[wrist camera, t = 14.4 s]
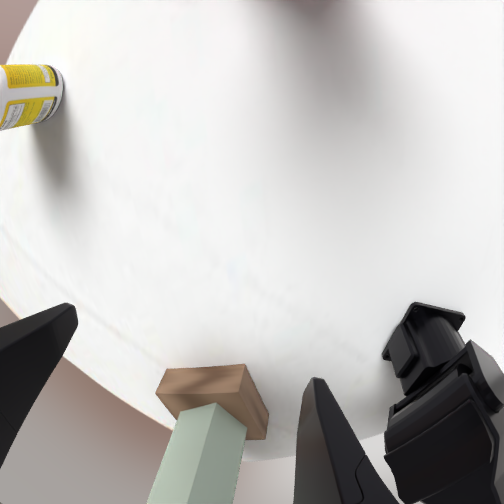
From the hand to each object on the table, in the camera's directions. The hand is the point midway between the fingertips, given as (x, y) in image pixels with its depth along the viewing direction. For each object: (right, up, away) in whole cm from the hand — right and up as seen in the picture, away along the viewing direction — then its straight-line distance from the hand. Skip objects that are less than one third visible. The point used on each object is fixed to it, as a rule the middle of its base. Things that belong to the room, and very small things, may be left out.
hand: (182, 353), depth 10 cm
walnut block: (-1, -12, +21) cm, 24 cm away
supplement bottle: (-16, +17, +9) cm, 25 cm away
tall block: (-2, -14, +17) cm, 22 cm away
